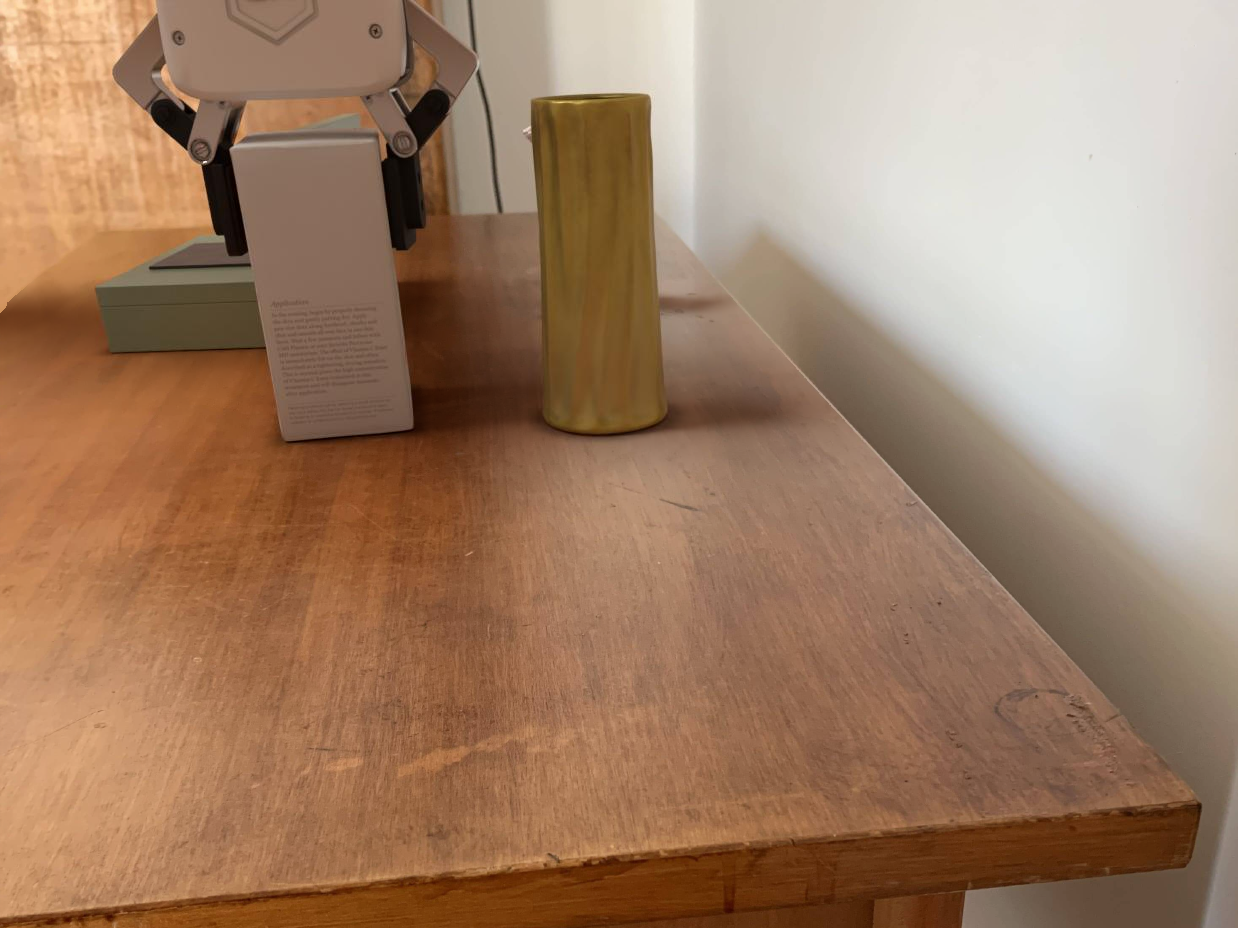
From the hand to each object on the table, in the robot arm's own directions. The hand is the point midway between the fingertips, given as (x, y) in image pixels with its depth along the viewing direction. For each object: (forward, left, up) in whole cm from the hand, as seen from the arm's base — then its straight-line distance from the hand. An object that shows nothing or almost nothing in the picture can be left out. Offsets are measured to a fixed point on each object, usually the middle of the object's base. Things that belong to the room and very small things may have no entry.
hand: (324, 245), depth 55 cm
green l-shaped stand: (-12, +25, -8) cm, 29 cm away
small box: (0, 0, -8) cm, 8 cm away
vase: (+13, -2, -8) cm, 16 cm away
